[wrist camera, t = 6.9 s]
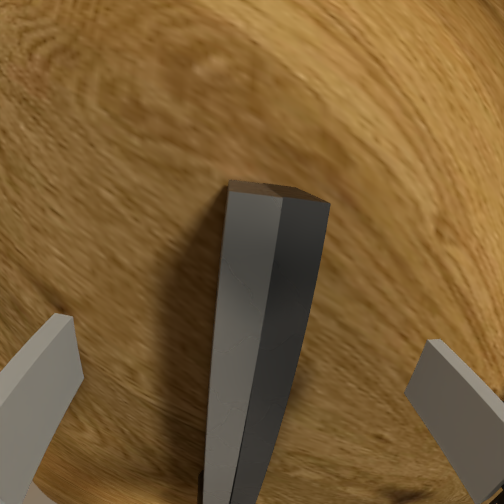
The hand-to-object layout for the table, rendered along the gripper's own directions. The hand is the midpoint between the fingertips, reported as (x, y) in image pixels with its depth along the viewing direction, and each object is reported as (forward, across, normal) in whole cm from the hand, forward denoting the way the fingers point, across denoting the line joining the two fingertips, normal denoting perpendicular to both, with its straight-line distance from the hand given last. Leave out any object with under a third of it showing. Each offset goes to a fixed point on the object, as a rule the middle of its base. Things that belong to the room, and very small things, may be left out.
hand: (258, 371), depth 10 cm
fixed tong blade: (+6, 0, +6) cm, 9 cm away
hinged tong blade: (+5, +1, +4) cm, 7 cm away
